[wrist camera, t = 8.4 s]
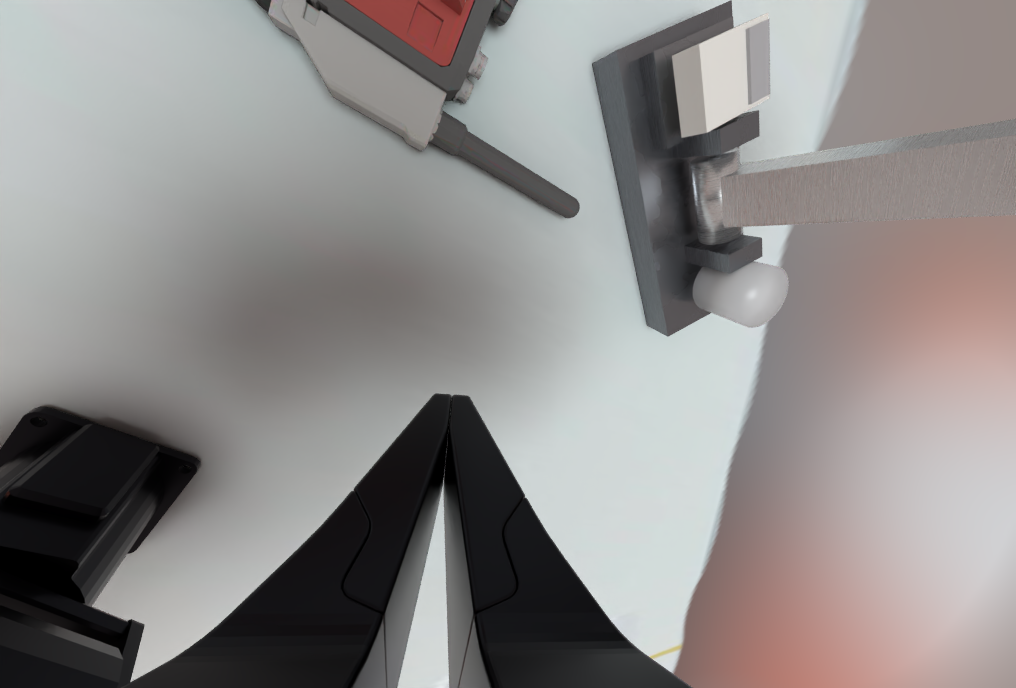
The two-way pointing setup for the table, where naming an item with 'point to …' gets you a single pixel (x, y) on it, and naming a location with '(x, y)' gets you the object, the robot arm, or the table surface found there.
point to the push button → (742, 293)
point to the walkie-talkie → (410, 71)
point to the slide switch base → (667, 169)
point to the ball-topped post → (861, 182)
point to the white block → (722, 76)
